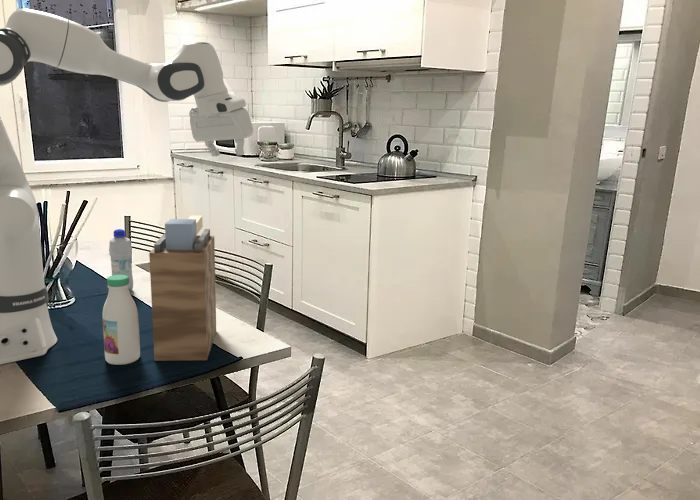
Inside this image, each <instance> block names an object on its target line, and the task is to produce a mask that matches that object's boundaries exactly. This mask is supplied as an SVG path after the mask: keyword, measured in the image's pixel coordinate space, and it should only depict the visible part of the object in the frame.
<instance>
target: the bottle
mask: <svg viewBox="0 0 700 500" xmlns="http://www.w3.org/2000/svg"><path fill="white" fill-rule="evenodd" d="M132 250H133V247H132V243H131V239H130V238H128V237H126V231H125V230H124V229H121V228H119V229H115V230H113V237H112V238H111V239H110V240H109V246H108V251H109V256H110V267H111V269H110V270H111V276H113V275H126V276H128V277H129V286H128V289H129V292H132V290H133V289H134V277H133V269H132V268H133V264H132V253H133V251H132Z"/></svg>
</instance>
